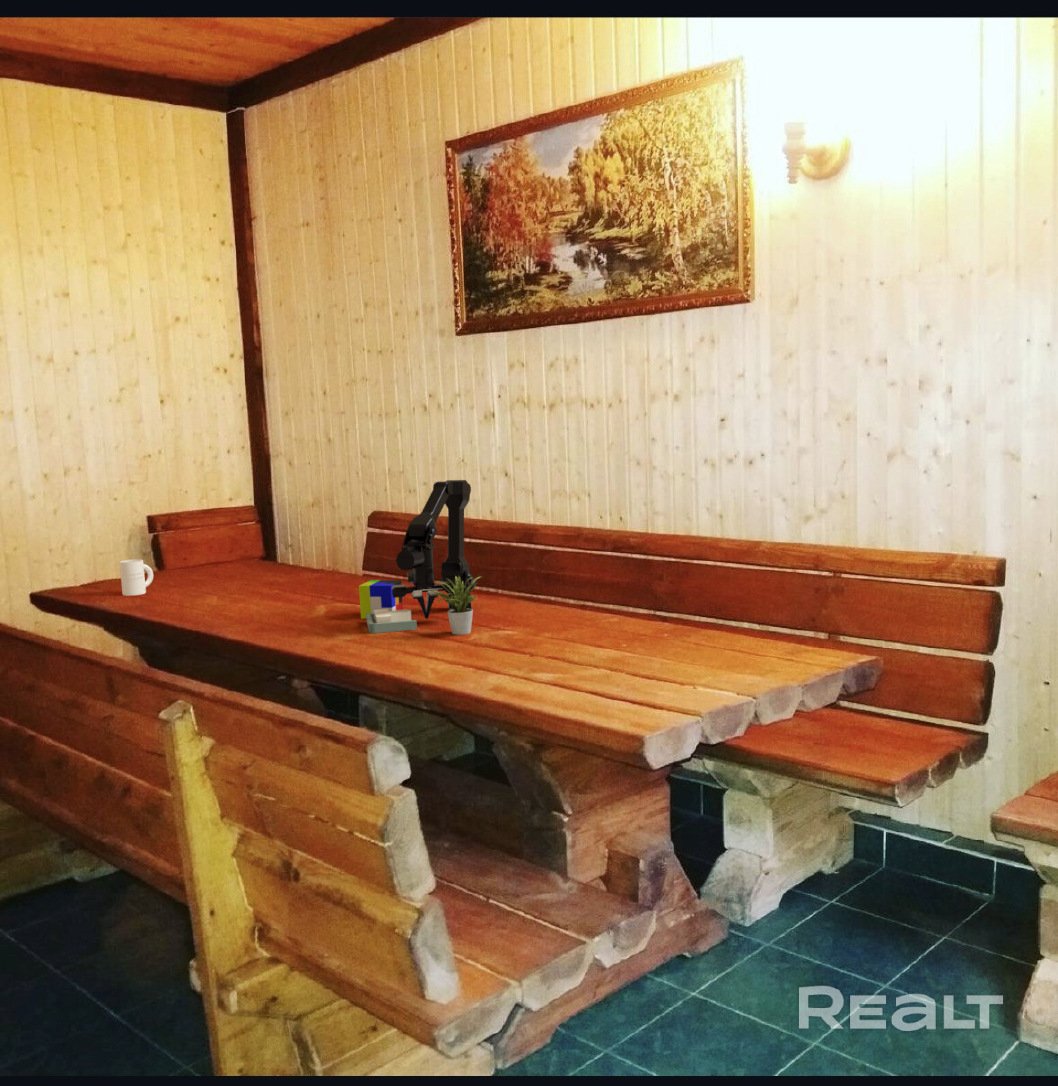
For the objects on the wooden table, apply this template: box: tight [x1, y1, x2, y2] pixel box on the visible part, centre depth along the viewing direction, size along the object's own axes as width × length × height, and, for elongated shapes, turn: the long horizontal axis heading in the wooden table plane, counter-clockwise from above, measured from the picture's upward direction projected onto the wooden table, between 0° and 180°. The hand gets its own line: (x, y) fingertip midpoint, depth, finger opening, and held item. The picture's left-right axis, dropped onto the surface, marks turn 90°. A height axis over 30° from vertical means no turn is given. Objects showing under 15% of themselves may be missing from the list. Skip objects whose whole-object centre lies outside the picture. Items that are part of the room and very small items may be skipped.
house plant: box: [431, 576, 483, 636], centre depth 306 cm, size 14×14×16 cm
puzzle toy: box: [358, 579, 404, 619], centre depth 337 cm, size 10×10×10 cm
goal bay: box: [365, 609, 418, 634], centre depth 320 cm, size 13×17×2 cm
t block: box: [374, 608, 412, 623], centre depth 320 cm, size 10×12×4 cm
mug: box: [119, 558, 154, 597], centre depth 401 cm, size 8×12×12 cm
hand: (426, 618), depth 322 cm, fingers closed
